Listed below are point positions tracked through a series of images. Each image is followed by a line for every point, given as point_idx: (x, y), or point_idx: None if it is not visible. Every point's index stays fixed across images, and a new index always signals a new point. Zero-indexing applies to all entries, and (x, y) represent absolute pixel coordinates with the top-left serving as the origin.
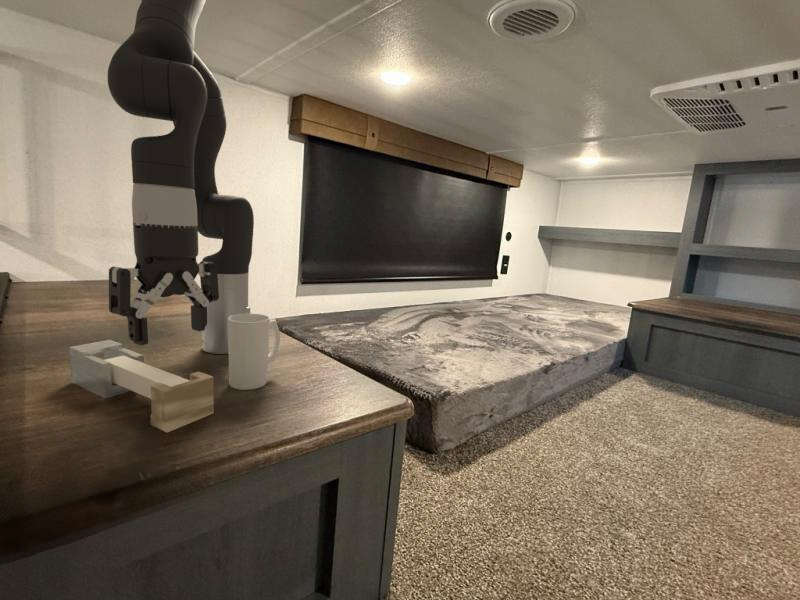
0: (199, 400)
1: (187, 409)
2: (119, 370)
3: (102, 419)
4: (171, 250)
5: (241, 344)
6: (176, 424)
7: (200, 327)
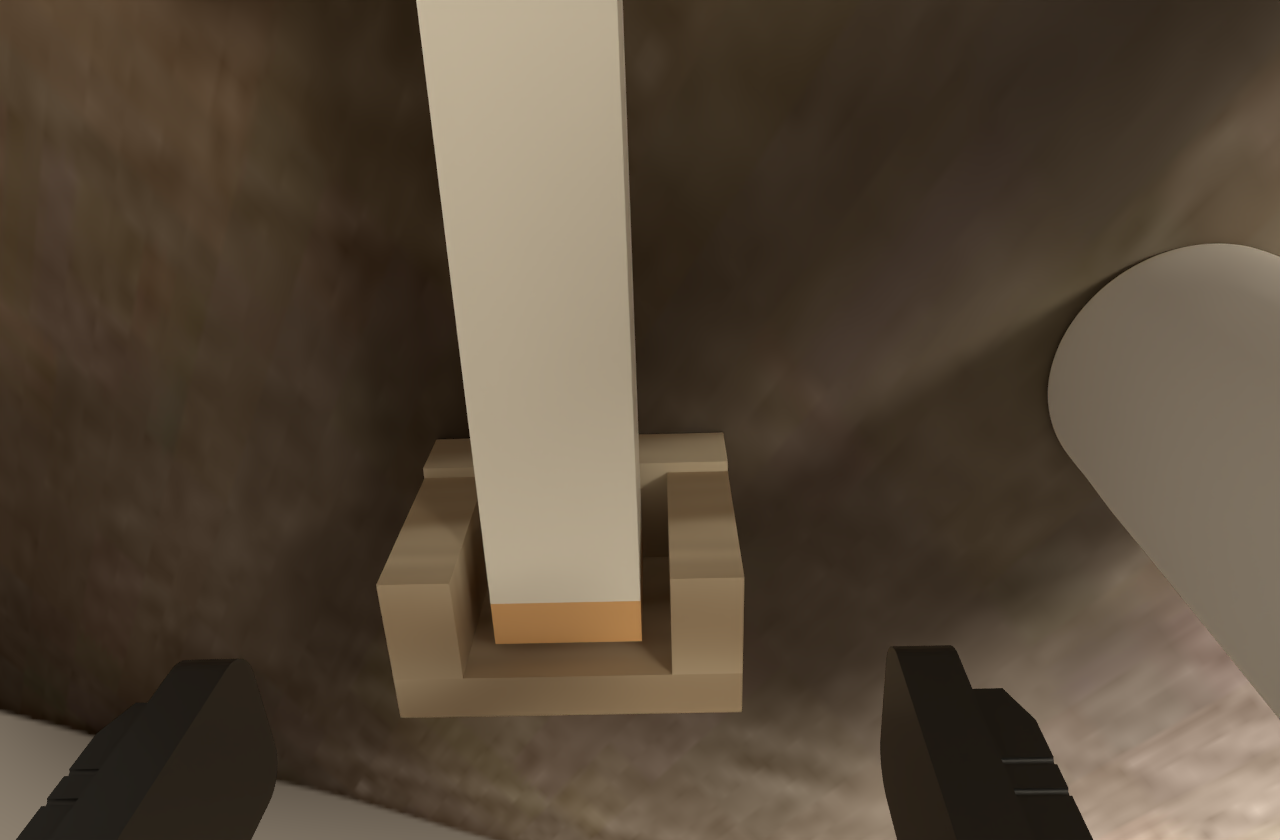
0: None
1: None
2: None
3: (272, 176)
4: None
5: (1236, 653)
6: None
7: (889, 801)
